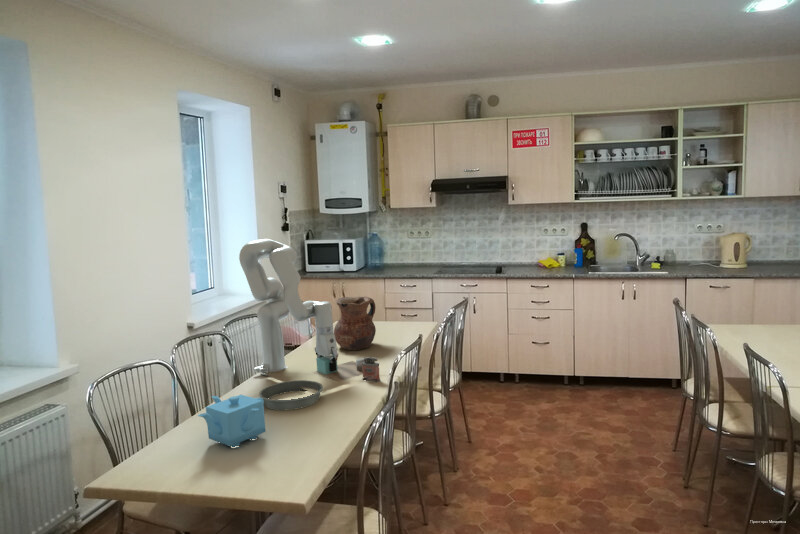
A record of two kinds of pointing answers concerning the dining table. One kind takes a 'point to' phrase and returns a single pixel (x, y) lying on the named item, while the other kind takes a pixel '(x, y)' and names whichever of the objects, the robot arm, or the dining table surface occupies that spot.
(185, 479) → the dining table surface
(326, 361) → the turquoise cube
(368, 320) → the jug
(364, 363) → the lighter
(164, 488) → the dining table surface
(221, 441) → the teakettle
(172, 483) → the dining table surface
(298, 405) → the cake pan
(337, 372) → the post board
